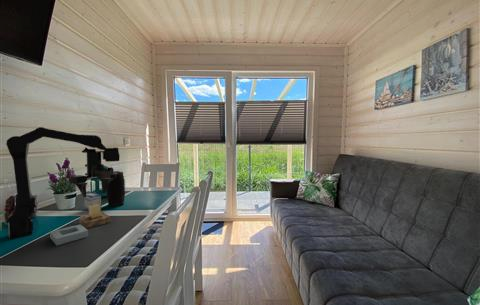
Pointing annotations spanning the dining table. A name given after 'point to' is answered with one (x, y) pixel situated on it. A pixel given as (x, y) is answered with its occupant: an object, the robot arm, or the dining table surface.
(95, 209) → the brass pin
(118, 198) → the portable speaker
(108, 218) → the walnut mount
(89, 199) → the medicine box
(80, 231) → the socket block
